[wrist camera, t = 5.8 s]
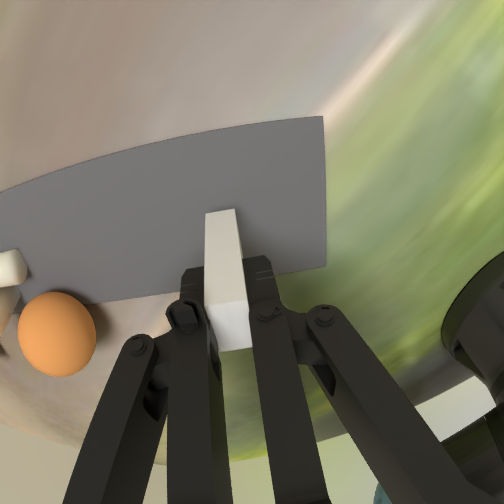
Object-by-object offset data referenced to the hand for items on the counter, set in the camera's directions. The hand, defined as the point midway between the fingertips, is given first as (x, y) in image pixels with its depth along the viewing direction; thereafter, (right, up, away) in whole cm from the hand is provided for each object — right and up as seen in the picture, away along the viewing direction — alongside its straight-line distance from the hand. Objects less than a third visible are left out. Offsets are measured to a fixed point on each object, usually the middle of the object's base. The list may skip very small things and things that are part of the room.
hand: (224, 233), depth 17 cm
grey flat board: (-8, 0, +1) cm, 8 cm away
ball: (-12, -7, +2) cm, 14 cm away
